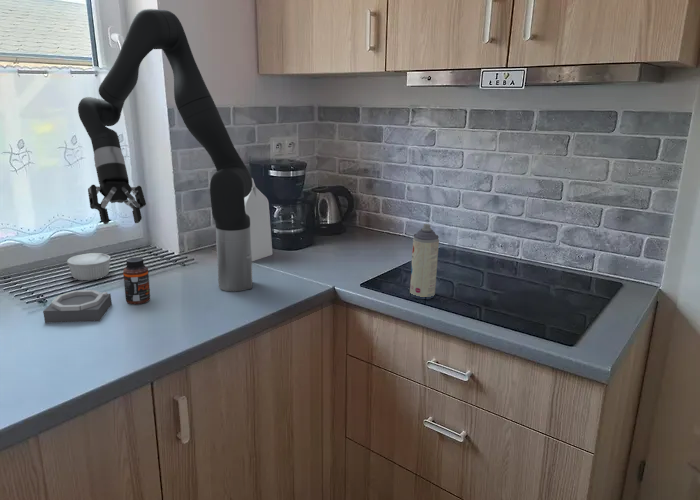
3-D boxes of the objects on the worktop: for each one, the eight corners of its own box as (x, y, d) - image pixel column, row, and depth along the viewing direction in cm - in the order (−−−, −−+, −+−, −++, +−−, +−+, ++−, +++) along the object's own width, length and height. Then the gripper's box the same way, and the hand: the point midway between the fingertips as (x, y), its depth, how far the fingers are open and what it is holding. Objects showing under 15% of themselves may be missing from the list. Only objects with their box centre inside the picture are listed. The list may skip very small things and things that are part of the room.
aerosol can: (415, 289, 150) (420, 220, 144) (438, 294, 146) (443, 224, 140) (405, 296, 144) (409, 225, 138) (428, 301, 141) (434, 229, 135)
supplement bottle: (142, 306, 133) (138, 263, 130) (121, 304, 134) (116, 261, 131) (155, 297, 139) (151, 256, 135) (134, 295, 140) (130, 254, 137)
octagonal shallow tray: (112, 304, 134) (110, 289, 133) (99, 321, 124) (97, 305, 123) (61, 305, 132) (59, 290, 131) (44, 323, 122) (42, 307, 121)
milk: (221, 255, 175) (218, 177, 167) (247, 247, 184) (244, 173, 176) (247, 262, 168) (245, 181, 161) (272, 254, 177) (271, 177, 170)
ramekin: (118, 276, 154) (116, 258, 153) (78, 285, 146) (76, 267, 145) (102, 266, 161) (100, 250, 160) (63, 275, 154) (61, 258, 152)
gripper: (89, 159, 137) (101, 219, 135) (141, 162, 148) (153, 217, 145) (78, 171, 142) (90, 228, 140) (130, 173, 153) (141, 226, 150)
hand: (122, 222), depth 143 cm, fingers open, 8 cm apart
